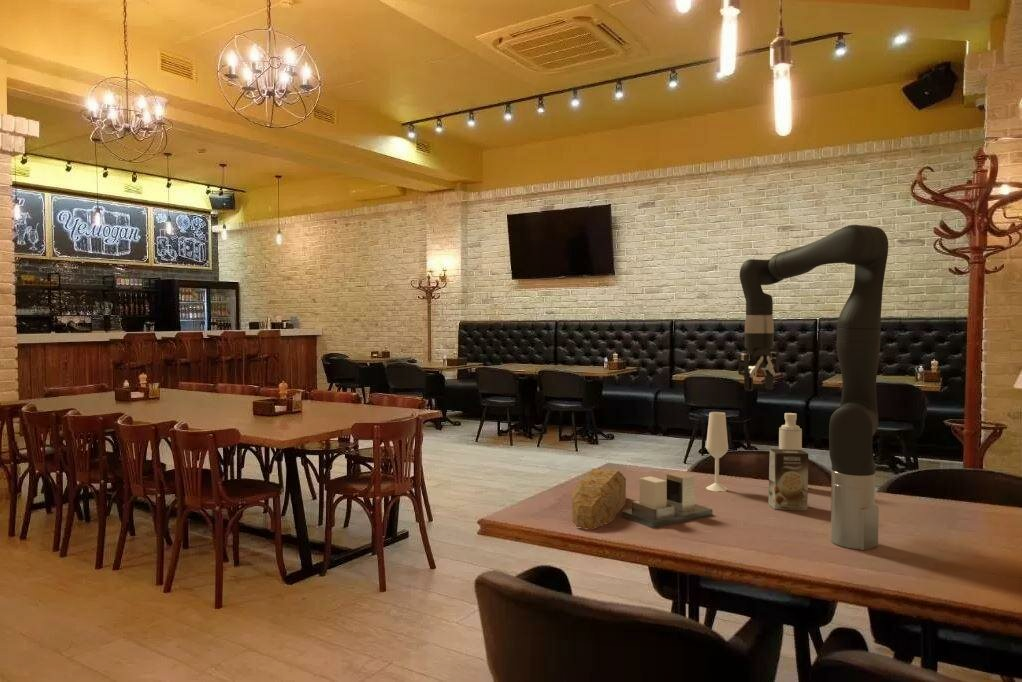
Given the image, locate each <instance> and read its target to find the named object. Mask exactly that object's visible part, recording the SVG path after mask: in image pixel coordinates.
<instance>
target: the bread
mask: <svg viewBox="0 0 1022 682" xmlns="http://www.w3.org/2000/svg"><path fill="white" fill-rule="evenodd" d="M571 492H572V495H571V497H572V498H571V499H572V500H571V504H572V505H571V509H572V512H571V518H572V522H573V523H574V524H575V525H576V527H581V528H588V529H587V530H589V529H592V530H594V529H593V528H595V527H598V528H600V527H599V526H601V525H603V526H605V525H606V524H605V523H607V524H609V523H611V522H613V521H614V519H615V518H616V516H617V513H619V512H620V511H621V510H622V508H623V507H624V506H625V505H626V501H627V496H626V495H627V479H626V477H625V476H624V475H623V473H621V472H620V471H619V470H611V469H600V468H599V469H598V468H592V470H590V471H588V473H587V474H586V475H584V476H583V477H582V479H580V480H579V481H578V483H577V484H576V485H575V487H574V488H573V490H572V491H571ZM623 505H624V506H623ZM620 509H621V510H620ZM614 517H615V518H614ZM613 518H614V519H613ZM610 521H611V522H610ZM572 522H571V523H572ZM608 522H609V523H608ZM573 523H572V524H573ZM574 524H573V525H574ZM604 524H605V525H604ZM575 525H574V526H575ZM576 527H575V528H576ZM601 527H602V526H601ZM595 529H596V528H595Z"/></svg>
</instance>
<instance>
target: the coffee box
mask: <svg viewBox="0 0 1022 682" xmlns="http://www.w3.org/2000/svg"><path fill="white" fill-rule="evenodd" d="M809 455H810V454H809V453H808V452H806V451H804V450H789V449H779V448H769V460H768V461H769V467H768V469H769V470H768V473H769V474H768V502H767V503H768V504H769V506H771V508H772V509H773V510H784V511H786V510H787V511H788V510H789V511H808V499H809V498H808V497H809V495H808V493H809V492H808V491H809V489H808V488H809V486H808V485H809Z"/></svg>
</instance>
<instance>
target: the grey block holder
mask: <svg viewBox="0 0 1022 682" xmlns="http://www.w3.org/2000/svg"><path fill="white" fill-rule="evenodd" d="M695 476H696V475H692V474H688V473H685V472H680V471H676V472H671V473H666V507H663V508H658V509H654V508H651V507H649V506H646V505H643V504H640V499H639V500H634V501H631V508H629V509H625V510H621V517H622V518H625V519H627V518H628V520H631V521H632V522H635V523H639V524H641V525H644V526H646V527H648V526H649V528H652V529H654V527H655V528H658V527H663V526H667V525H672V524H677V523H682V522H686V521H691V520H696V519H699V518H705V517H709V516H713V509H712V508H709V507H706V506H703V505H699V504H696V502H695V501H696V500H695V495H696V494H695V493H696V491H695V490H696V489H695V488H696V487H695V482H696V481H695V480H696V477H695Z"/></svg>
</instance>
